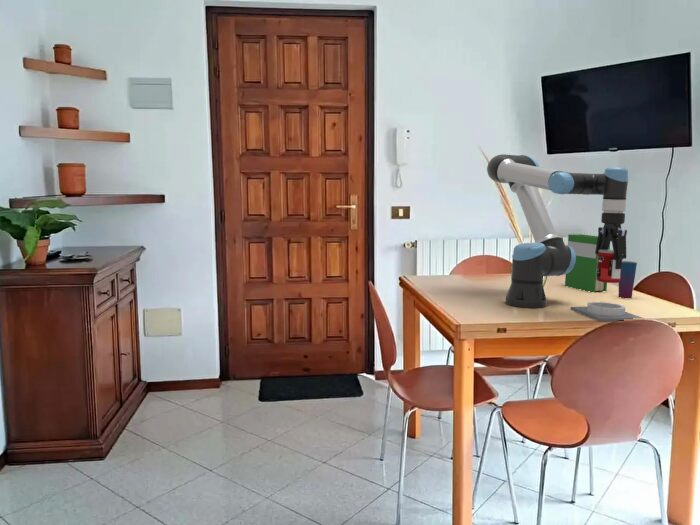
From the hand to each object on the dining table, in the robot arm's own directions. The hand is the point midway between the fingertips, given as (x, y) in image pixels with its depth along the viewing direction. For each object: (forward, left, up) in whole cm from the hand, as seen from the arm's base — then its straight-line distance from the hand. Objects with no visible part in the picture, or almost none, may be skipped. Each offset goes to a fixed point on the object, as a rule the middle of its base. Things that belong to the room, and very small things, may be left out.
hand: (608, 276), depth 213 cm
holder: (0, 0, -14) cm, 14 cm away
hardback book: (+23, +54, -14) cm, 60 cm away
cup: (+29, +33, -14) cm, 46 cm away
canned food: (0, 0, -2) cm, 2 cm away
